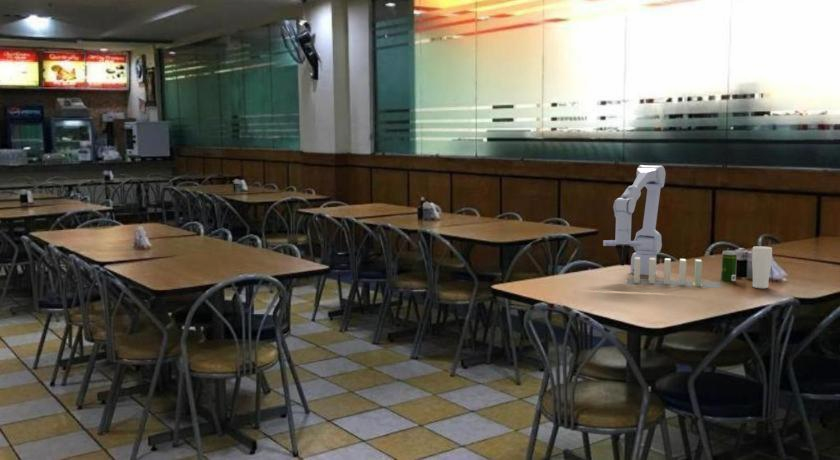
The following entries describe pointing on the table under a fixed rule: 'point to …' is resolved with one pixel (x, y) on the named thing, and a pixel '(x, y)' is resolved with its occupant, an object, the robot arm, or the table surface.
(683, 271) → the domino
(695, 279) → the domino
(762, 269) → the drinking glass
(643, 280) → the domino mat
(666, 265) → the domino
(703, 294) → the table surface
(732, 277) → the beer can
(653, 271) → the domino
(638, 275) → the domino
